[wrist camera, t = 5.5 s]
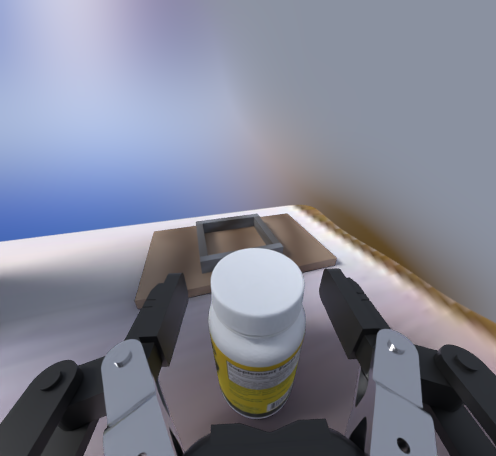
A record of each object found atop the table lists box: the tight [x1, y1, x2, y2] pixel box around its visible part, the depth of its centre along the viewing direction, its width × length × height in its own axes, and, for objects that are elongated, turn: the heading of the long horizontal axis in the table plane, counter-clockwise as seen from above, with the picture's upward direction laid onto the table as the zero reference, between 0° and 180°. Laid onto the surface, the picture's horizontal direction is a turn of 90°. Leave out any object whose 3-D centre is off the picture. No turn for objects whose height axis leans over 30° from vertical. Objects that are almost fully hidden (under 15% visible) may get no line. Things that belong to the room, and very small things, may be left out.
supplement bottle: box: [208, 248, 306, 419], centre depth 10 cm, size 5×5×8 cm
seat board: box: [135, 214, 337, 309], centre depth 23 cm, size 20×12×2 cm, turn 106°
